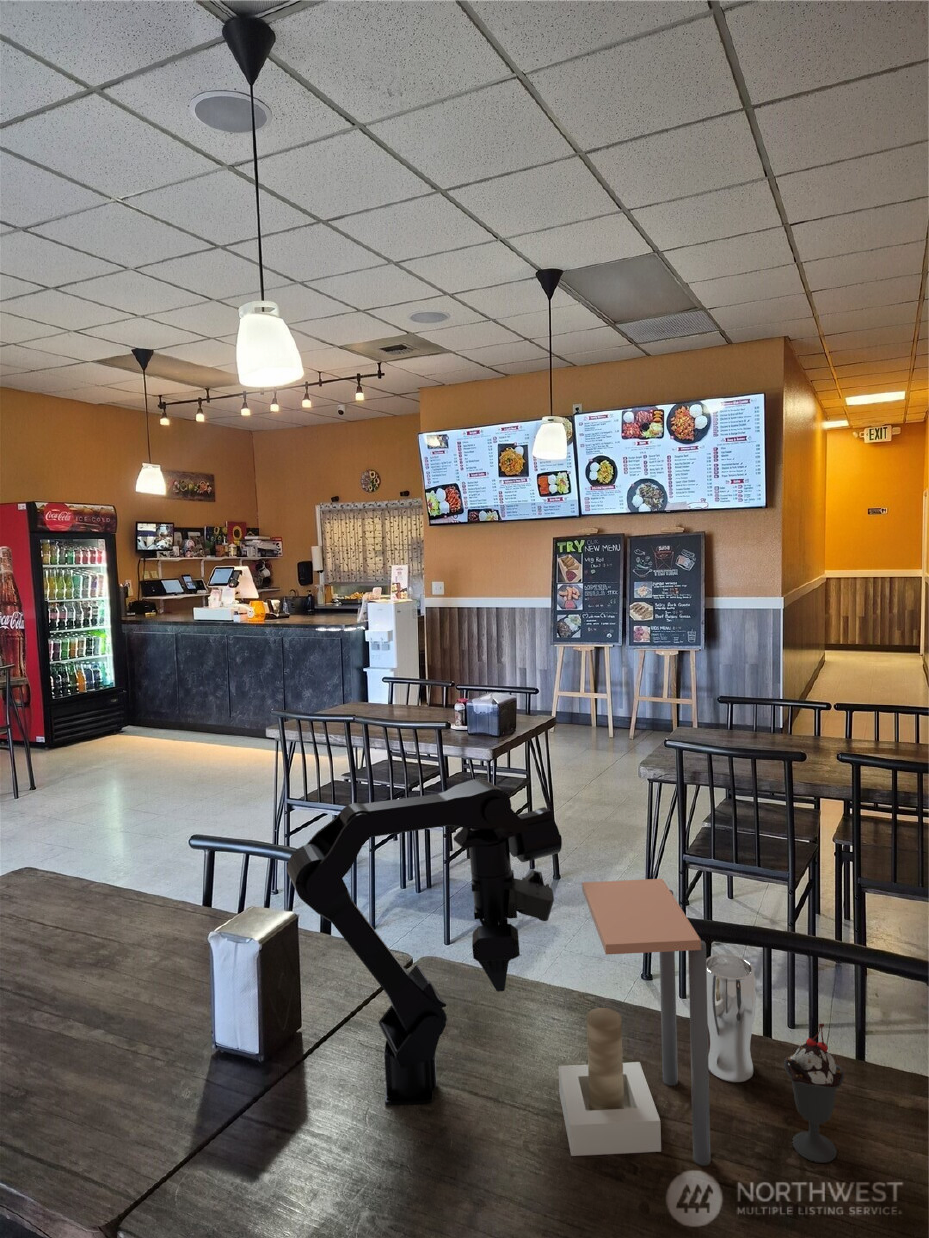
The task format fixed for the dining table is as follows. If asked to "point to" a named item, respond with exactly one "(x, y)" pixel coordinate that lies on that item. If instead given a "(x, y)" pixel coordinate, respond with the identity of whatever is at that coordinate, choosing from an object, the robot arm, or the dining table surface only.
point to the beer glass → (730, 1016)
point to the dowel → (605, 1059)
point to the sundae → (814, 1096)
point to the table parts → (658, 924)
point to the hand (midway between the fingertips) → (500, 972)
